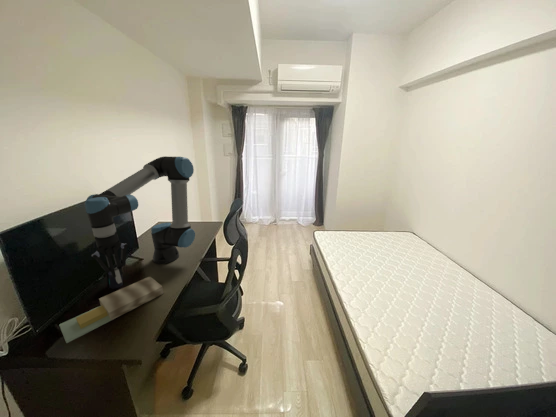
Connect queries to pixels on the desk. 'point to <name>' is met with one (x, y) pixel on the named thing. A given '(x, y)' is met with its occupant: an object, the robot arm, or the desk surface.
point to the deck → (130, 297)
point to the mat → (73, 329)
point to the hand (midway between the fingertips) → (119, 281)
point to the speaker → (113, 281)
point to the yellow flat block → (91, 317)
